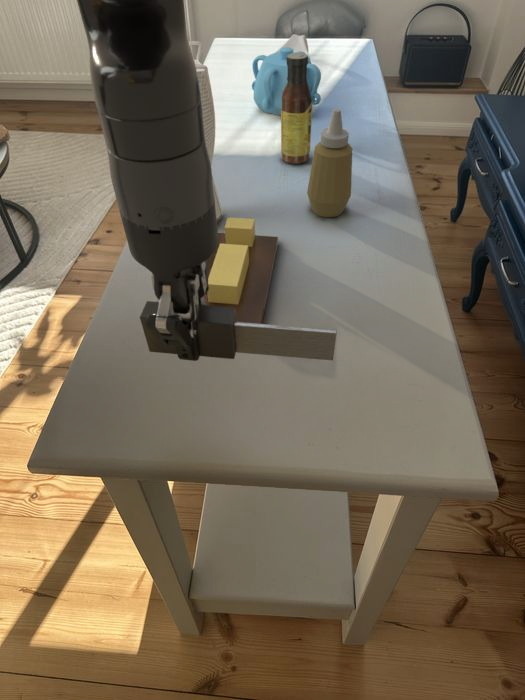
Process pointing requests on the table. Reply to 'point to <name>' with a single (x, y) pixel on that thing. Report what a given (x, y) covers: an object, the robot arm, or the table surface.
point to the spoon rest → (297, 44)
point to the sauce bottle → (296, 111)
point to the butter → (228, 274)
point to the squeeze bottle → (331, 170)
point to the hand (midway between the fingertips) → (192, 346)
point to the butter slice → (240, 231)
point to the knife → (246, 336)
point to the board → (252, 279)
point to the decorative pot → (279, 80)
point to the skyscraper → (207, 115)
